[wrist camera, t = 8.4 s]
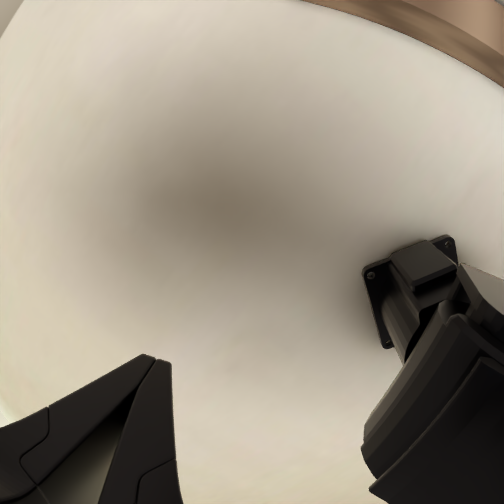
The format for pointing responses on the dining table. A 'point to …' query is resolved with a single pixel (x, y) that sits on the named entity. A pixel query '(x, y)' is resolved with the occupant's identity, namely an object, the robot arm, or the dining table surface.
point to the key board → (442, 27)
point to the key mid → (500, 2)
